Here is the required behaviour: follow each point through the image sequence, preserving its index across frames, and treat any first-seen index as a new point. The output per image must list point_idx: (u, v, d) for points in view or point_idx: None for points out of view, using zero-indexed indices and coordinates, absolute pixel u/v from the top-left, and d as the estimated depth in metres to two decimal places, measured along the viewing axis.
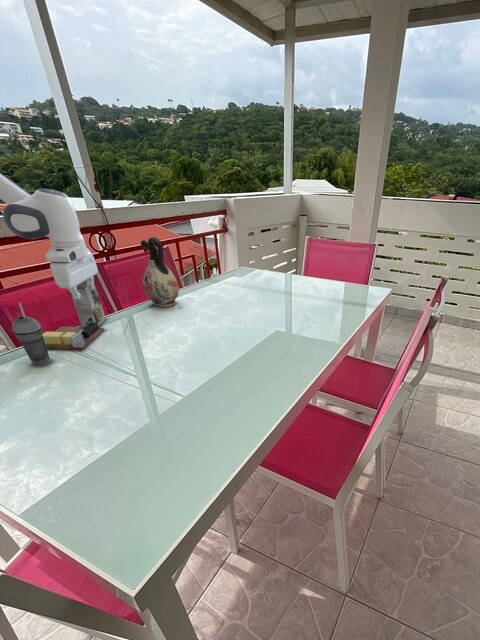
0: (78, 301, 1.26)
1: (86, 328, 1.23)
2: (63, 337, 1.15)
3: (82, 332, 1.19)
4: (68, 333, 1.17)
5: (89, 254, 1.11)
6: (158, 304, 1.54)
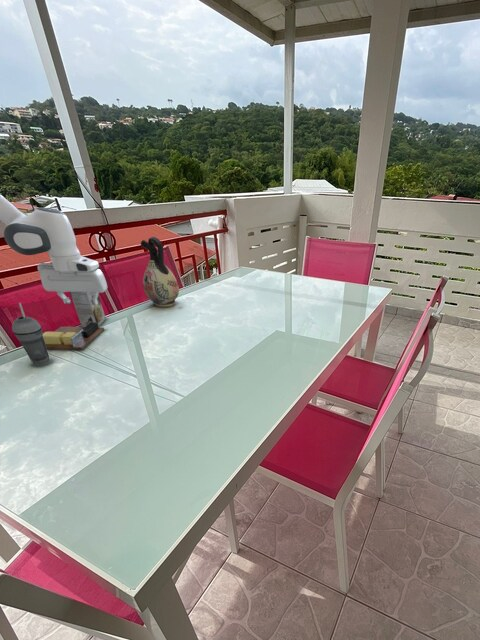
0: (78, 301, 1.26)
1: (86, 328, 1.23)
2: (63, 337, 1.15)
3: (82, 332, 1.19)
4: (68, 333, 1.17)
5: None
6: (158, 304, 1.54)
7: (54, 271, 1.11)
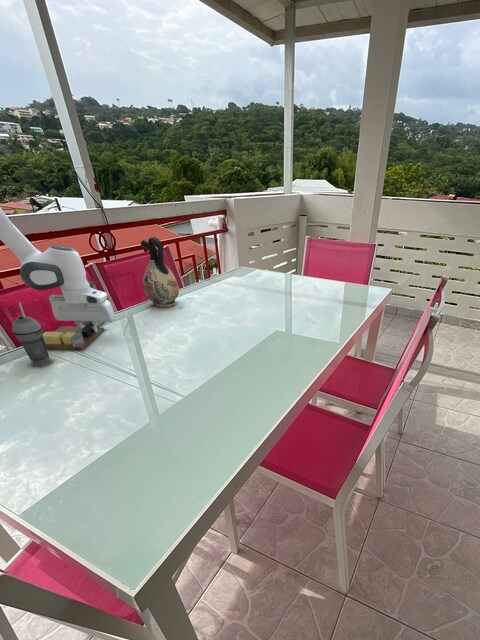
0: None
1: (86, 328, 1.23)
2: (63, 337, 1.15)
3: (82, 332, 1.19)
4: (68, 333, 1.17)
5: None
6: (158, 304, 1.54)
7: (65, 303, 1.17)
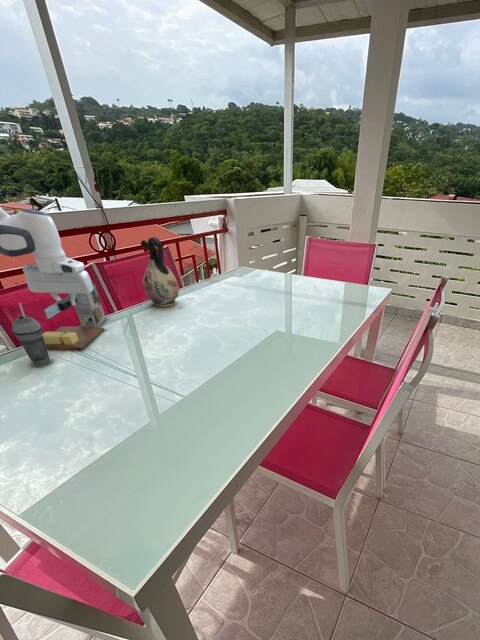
0: (78, 301, 1.26)
1: (63, 301, 1.17)
2: (63, 337, 1.15)
3: (57, 304, 1.13)
4: (68, 333, 1.17)
5: None
6: (158, 304, 1.54)
7: (39, 273, 1.11)
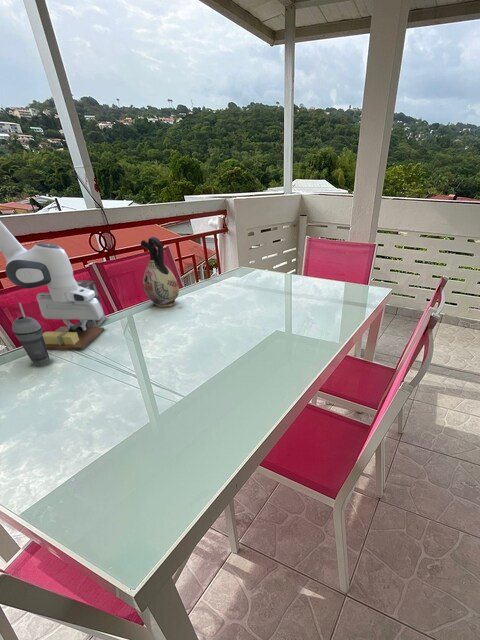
0: None
1: (74, 326, 1.22)
2: (64, 337, 1.15)
3: (69, 330, 1.19)
4: (68, 333, 1.17)
5: None
6: (158, 304, 1.54)
7: (52, 301, 1.16)
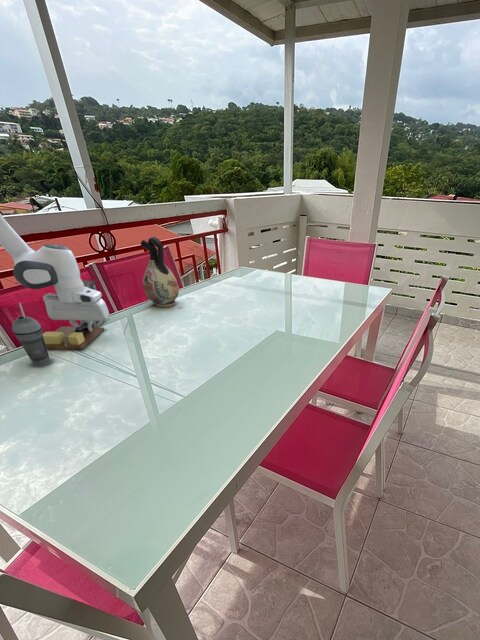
0: None
1: (80, 327, 1.22)
2: (69, 337, 1.15)
3: (75, 331, 1.19)
4: (74, 333, 1.17)
5: None
6: (158, 304, 1.54)
7: (59, 302, 1.16)
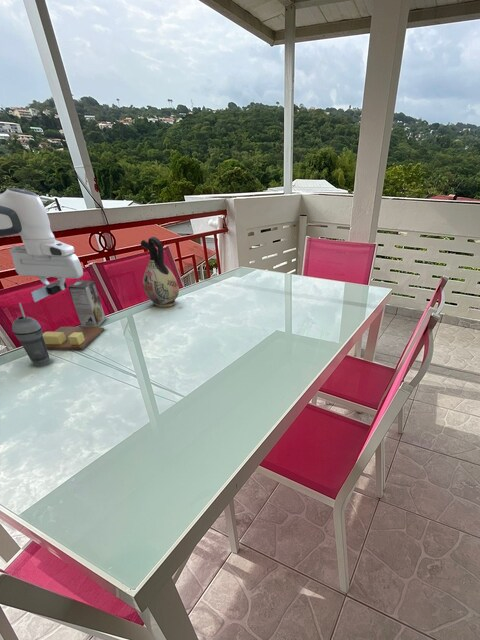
0: (78, 301, 1.26)
1: (51, 285, 1.14)
2: (69, 337, 1.15)
3: (45, 288, 1.10)
4: (74, 333, 1.17)
5: None
6: (158, 304, 1.54)
7: (27, 255, 1.08)
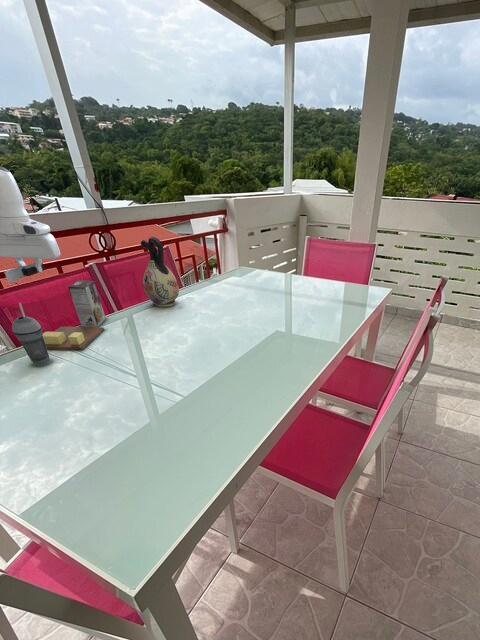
0: (78, 301, 1.26)
1: (27, 266, 1.10)
2: (69, 337, 1.15)
3: (21, 268, 1.07)
4: (74, 333, 1.17)
5: None
6: (158, 304, 1.54)
7: (1, 234, 1.04)
